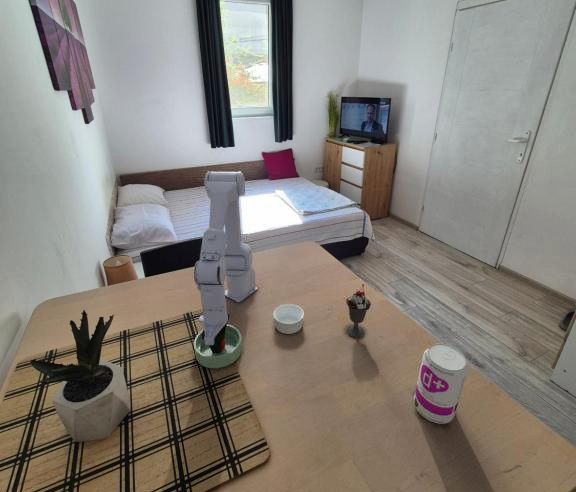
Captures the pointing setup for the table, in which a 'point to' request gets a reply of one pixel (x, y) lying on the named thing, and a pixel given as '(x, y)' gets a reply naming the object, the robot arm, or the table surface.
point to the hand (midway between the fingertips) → (218, 346)
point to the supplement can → (440, 383)
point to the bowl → (227, 354)
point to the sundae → (357, 312)
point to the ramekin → (288, 318)
